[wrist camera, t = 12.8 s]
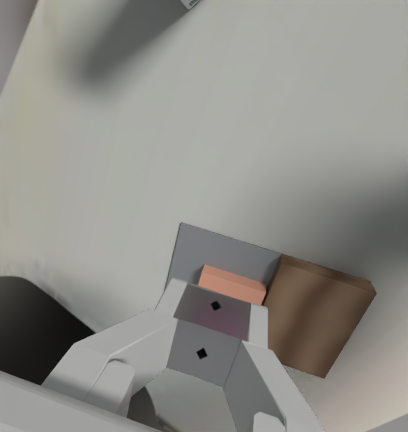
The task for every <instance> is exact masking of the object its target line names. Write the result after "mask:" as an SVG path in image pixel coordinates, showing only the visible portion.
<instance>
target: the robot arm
mask: <svg viewBox="0 0 408 432" xmlns="http://www.w3.org/2000/svg"><path fill="white" fill-rule="evenodd" d="M166 367H167V368H170V369H173V370H176V371H180V372H183V373H186V374H189V375H192V376H195V377H198V378H200V379H203V380H206V381H208V382H211V383H213V384H216V385H219V386H221V387H224V388H223V390H224V393H225V396H226V399H227V402H228V405H229V408H230V410H231V413H232V416H233V419H234V422H235V425H236V428H237V431H238V432H325V430H324V428H323V427H322V425H321V424H320V422H319V421H318V419H317V418H316V416H315V415H314V413H313V412H312V410H311V409H310V407H309V405H308V404H307V402H306V401H305V399H304V398H303V396H302V395H301V393H300V392H299V390H298V389H297V387H296V386H295V384H294V383H293V381H292V379H291V378H290V376H289V375H288V373H287V372H286V370H285V369H284V367H283V366H282V364H281V363H280V361H279V360H278V358H277V356H276V355H275V353H274V352H273V351H272V350H270V349H268V309H267V307H265V306H261V305H258V304H254V303H249V302H246V301H243V300H240V299H236V298H233V297H230V296H227V295H224V294H221V293H218V292H215V291H213V290H210V289H207V288H204V287H201V286H198V285H195V284H192V283H188V282H186V281H183V280H180V279H177V278H174V277H173V278H172V279H171V280H170V282H169V283H168V285H167V287H166V289H165V291H164V293H163V295H162V297H161V298H160V300H159V302H158V304H157V306H156V308H155V310H154V311H153V310H150V309H149V310H147V311H144V312H142V313H140V314H138V315H136V316H133V317H131V318H129V319H127V320H125V321H122V322H120V323H118V324H116V325H114V326H111V327H109V328H107V329H105V330H103V331H100V332H98V333H96V334H94V335H92V336H90V337H87V338H85V339H83V340H81V341H79V342H76V343H74V344H73V345H72V347H71V348H70V349H69V350H68V352H67V353H66V354H65V355H64V357H63V358H62V359H61V361H60V362H59V363H58V364H57V366H56V367H55V368H54V369H53V371H52V372H51V373H50V375H49V376H48V377H47V378H46V380H45V381H44V382H43V383H42V385H41V386H39V385H37V384H34V383H31V382H29V381H26V380H23V379H20V378H18V377H15V376H13V375H10V374H7V373H4V372H1V371H0V432H162V431H160V430H157V429H154V428H152V427H149V426H146V425H144V424H141V423H138V422H136V421H133V420H130V419H128V418H127V413H128V408H129V402H130V397H131V396H132V395H134V394H135V393H136V392H137V391H139V390H140V389H141V388H142V387H144V386H145V385H146V384H147V383H149V382H150V381H151V380H153V379H154V378H155V377H156V376H158V375H159V374H160V373H161V372H163V371H164V370H165V369H166Z"/></svg>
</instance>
